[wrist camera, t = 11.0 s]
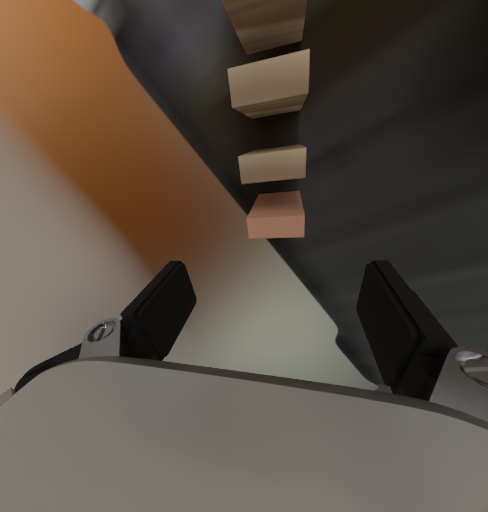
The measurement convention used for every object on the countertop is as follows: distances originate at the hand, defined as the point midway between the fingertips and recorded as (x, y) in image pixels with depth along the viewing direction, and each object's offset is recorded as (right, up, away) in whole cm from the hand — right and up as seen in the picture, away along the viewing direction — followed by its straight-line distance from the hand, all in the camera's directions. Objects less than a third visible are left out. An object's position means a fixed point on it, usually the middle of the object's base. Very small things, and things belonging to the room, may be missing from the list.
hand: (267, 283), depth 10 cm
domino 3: (+3, +13, +12) cm, 18 cm away
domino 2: (+2, +17, +9) cm, 20 cm away
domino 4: (+3, +9, +14) cm, 17 cm away
